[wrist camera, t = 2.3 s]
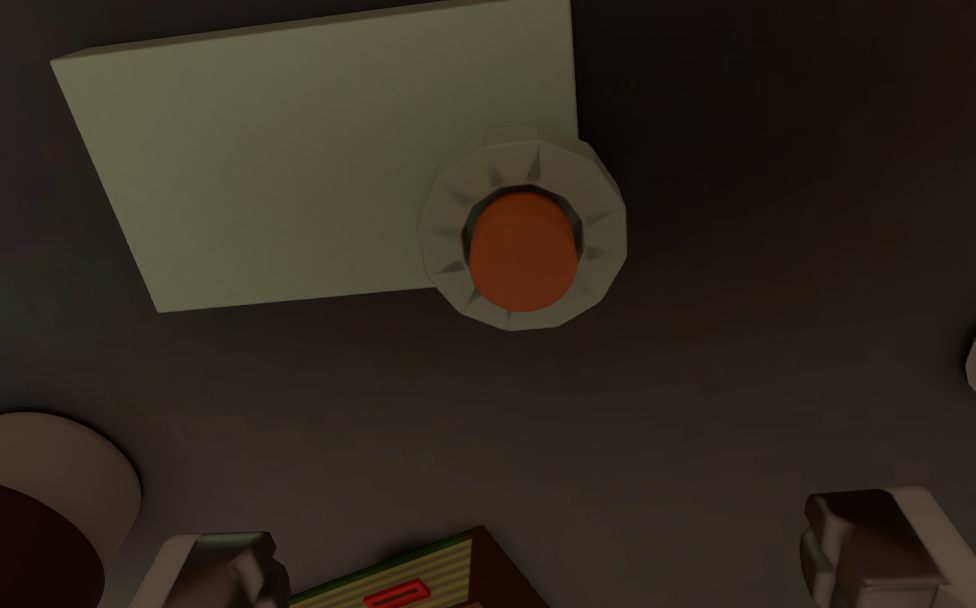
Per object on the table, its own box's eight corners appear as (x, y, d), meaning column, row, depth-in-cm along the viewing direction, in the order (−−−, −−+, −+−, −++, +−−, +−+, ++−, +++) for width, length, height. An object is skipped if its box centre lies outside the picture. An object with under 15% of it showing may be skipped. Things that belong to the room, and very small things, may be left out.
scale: (604, -21, 18) (621, -7, 15) (614, 266, 23) (628, 321, 20) (86, 47, 20) (8, 73, 17) (189, 306, 24) (143, 363, 21)
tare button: (569, 185, 18) (574, 210, 17) (575, 276, 20) (580, 308, 18) (465, 196, 18) (461, 221, 17) (479, 285, 20) (476, 316, 18)
